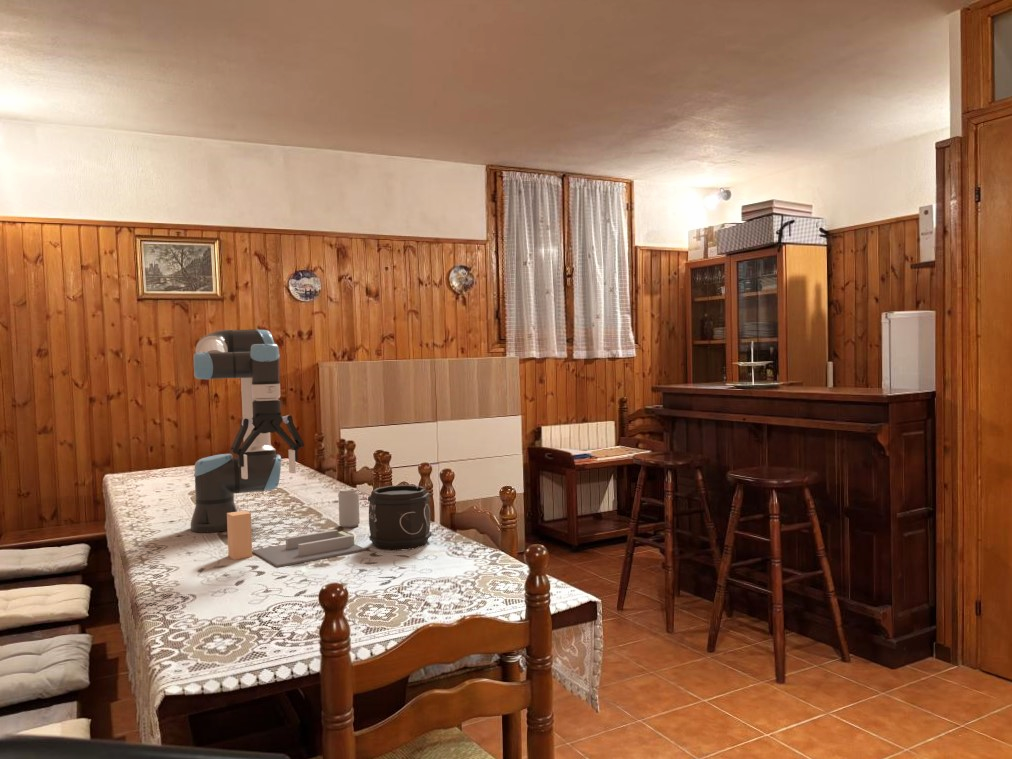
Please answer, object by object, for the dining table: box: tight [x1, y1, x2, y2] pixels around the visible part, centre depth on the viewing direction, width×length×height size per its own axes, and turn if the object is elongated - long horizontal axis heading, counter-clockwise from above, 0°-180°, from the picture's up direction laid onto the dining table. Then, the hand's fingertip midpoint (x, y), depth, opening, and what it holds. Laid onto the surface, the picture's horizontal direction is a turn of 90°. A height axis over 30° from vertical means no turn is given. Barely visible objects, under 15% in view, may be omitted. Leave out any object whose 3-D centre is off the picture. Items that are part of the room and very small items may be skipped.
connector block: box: [226, 510, 253, 560], centre depth 209 cm, size 5×5×12 cm
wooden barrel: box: [367, 484, 432, 551], centre depth 219 cm, size 18×18×16 cm
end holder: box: [252, 529, 366, 568], centre depth 212 cm, size 20×25×4 cm
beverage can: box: [337, 487, 361, 529], centre depth 243 cm, size 6×6×12 cm
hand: (269, 475), depth 210 cm, fingers open, 13 cm apart
